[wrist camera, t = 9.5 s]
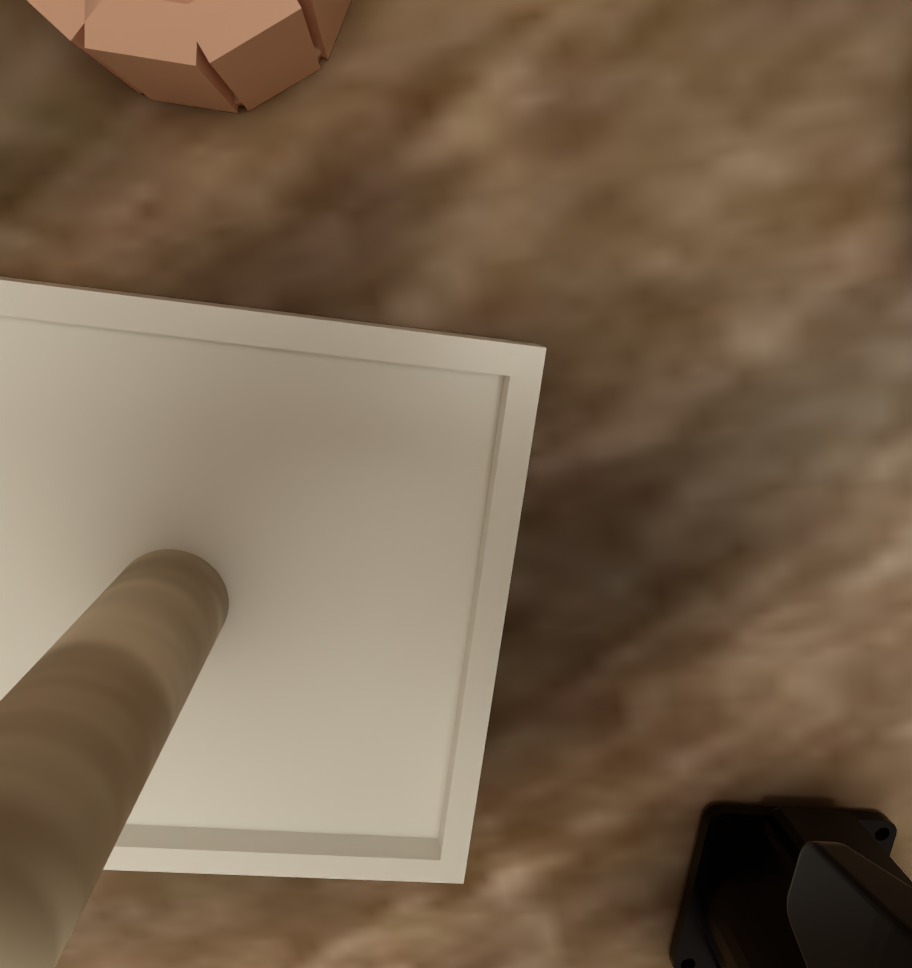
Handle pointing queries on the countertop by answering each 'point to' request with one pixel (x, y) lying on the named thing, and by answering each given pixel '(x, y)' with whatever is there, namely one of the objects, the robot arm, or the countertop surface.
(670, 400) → the countertop surface
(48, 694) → the dowel
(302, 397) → the tray
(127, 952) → the countertop surface
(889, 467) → the countertop surface
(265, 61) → the cup
